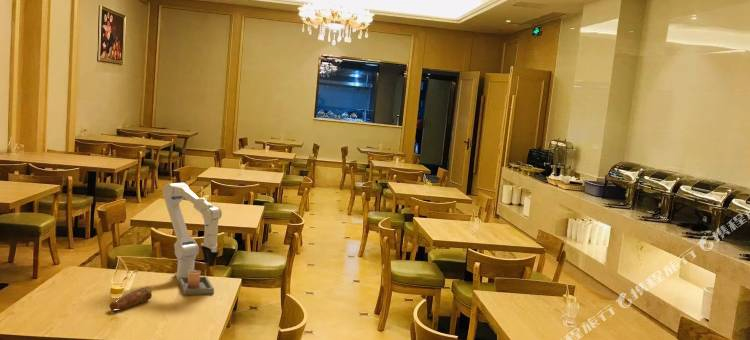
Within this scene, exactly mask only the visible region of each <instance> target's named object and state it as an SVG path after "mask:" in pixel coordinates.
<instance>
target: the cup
mask: <svg viewBox="0 0 750 340" xmlns="http://www.w3.org/2000/svg"><path fill="white" fill-rule="evenodd" d="M201 273H202V272H201V270H200V269H194V270H189V271H188V288H190V289H197V288H199V287H200V277H201Z"/></svg>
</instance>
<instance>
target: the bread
mask: <svg viewBox="0 0 750 340" xmlns="http://www.w3.org/2000/svg"><path fill="white" fill-rule="evenodd" d="M118 299H119V298H118ZM118 299H117V300H118ZM151 299H152V288H151V287H149V286H144V287H140V288H138V289H136V290H134V291H132V292H130V293H128V294H126V295H124V296H122V297H120V299H119V300H118V301H117V302H116V300H114V301H115V302H114V301H112V302H111V303H110V305H109V309H110V311H112V310H114V309H121V310H120V311H123V310H125V309H128V308H131V307H134V306H135V305H138V304H142V303H145V302H147V301H149V300H151Z"/></svg>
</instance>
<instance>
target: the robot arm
mask: <svg viewBox="0 0 750 340" xmlns="http://www.w3.org/2000/svg"><path fill="white" fill-rule="evenodd" d="M162 195H163V198H164V201H165V206H166V209H167V212H168V215H169V219H170V221H171V223H172V224H171V225H172V227H173V231H174V234H175V236H176V241H175V243H174V244H173V247H174V254H175V257H176V259H177V272H175V273H174V275H175V277H176V279H177V280H178V281H179V277H188V271H189V270H195V262H196V261H195V260H196V258H197V256H198V254H199V253H200V252H199V251H200V248H201V250H202V254H203V255H202V256H203V260H204V263H207V264H208V267H214V266H215V263H216V260H217V257H218V255H219V254H220V251H219V250H217V249H218V248H217V247H218V232H219V220H220V219H221V218H222V214H223V212H222V209H221V208H220V207H219V206H218V205H217V206H214V205H213V204H211V203H210V202H208V201H207V200H206V198H205V197H198V196H197V194H195V193H194V192H193V191H192V190H191V189H190V186H189V185H188V184H186V183H185V182H184V181H181V182H173V183H165V184H164V186H163V189H162ZM184 198H185V199H186V200H187V201H189V202H190V203H192V205H193V208H194V209H195V210H196V211H198V212H199V213H200V214H201V215H202V219H203V223H204V232H203V242H202V243H200V247H199V245H198V243H197V242H196V239H195V238H193V237H192V236H190V235H189V231H188V227H187V225H186V222H185V219H184V215H183V212H182V210H181V207H180V203H181V202H182V201H183V200H184Z"/></svg>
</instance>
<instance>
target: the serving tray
mask: <svg viewBox="0 0 750 340" xmlns="http://www.w3.org/2000/svg"><path fill="white" fill-rule="evenodd" d="M178 285H179V286H180V289H181V290H182V293H183V295H184V296H204V294H206V295H214V294H215V288H214V286H213V285H212V283H211V281H210V280H209V277H208V276H207V275H205V276H200V287H199V288H197V289H190V288H188V277H179V280H178Z"/></svg>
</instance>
